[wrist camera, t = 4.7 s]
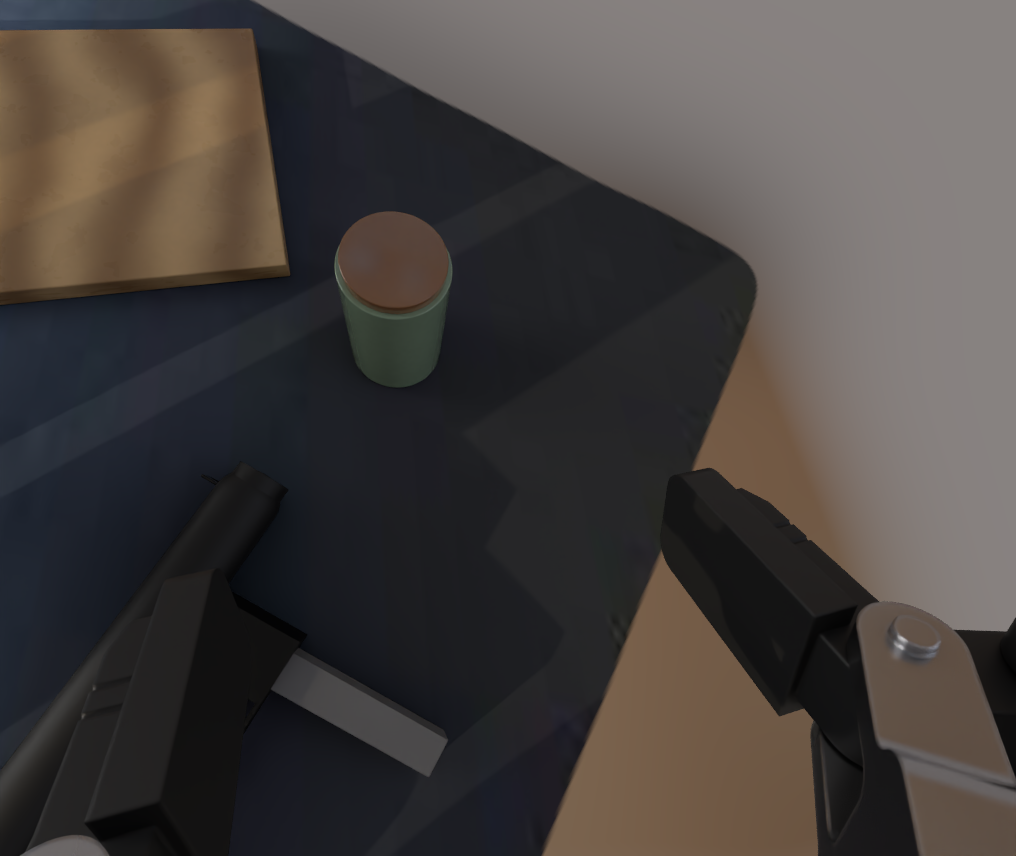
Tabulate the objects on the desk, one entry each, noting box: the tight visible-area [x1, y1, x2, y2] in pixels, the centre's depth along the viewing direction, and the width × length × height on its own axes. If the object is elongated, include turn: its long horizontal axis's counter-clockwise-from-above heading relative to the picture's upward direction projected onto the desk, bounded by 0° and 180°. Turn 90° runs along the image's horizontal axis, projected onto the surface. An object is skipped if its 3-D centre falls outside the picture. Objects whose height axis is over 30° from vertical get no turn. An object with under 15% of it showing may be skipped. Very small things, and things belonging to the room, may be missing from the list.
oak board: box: [0, 29, 290, 305], centre depth 30 cm, size 24×16×1 cm, turn 102°
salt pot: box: [334, 212, 452, 387], centre depth 27 cm, size 5×5×9 cm
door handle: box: [0, 461, 448, 856], centre depth 24 cm, size 3×20×16 cm
